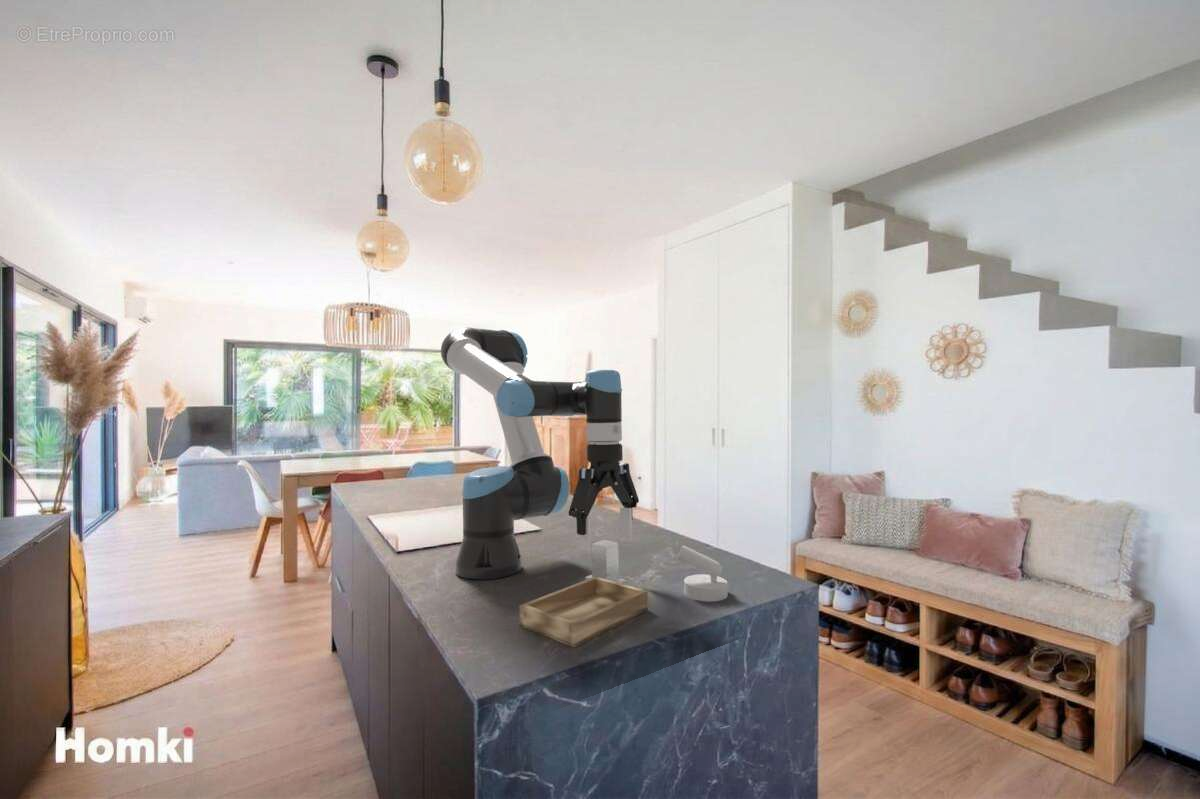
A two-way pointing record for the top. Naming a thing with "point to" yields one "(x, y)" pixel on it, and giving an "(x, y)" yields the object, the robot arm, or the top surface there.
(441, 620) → the top surface
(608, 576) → the frosted glass pillar
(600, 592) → the wooden tray
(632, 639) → the top surface
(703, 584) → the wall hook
